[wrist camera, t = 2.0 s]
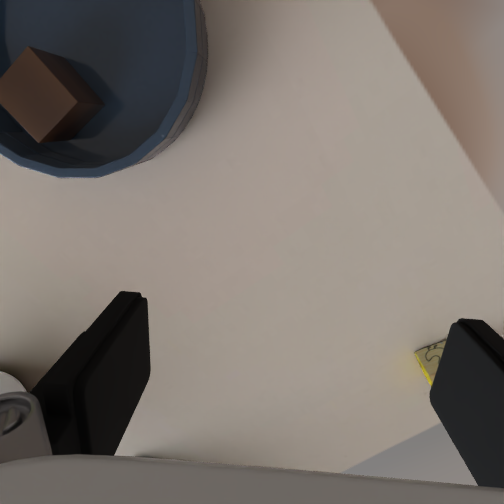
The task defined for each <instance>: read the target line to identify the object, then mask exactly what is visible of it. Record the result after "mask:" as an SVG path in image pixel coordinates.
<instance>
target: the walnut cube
mask: <svg viewBox="0 0 504 504" xmlns="http://www.w3.org/2000/svg"><path fill="white" fill-rule="evenodd" d="M0 104H1V105H2V106H3V107H4V108H5V109H6V110H7V111H8V112H9V113H10V114H11V115H12V116H13V117H14V118H15V119H16V120H17V121H18V122H19V123H20V124H21V125H22V126H23V128H24V129H25V130H26V131H27V132H28V133H29V134H30V135H31V136H32V137H33V138H34V139H35V140H36V141H37V142H38V143H46V142H56V141H67V140H71V139H72V138H73V137H74V136H75V135H76V134H77V133H78V132H79V131H80V130H81V129H82V128H83V127H84V126H85V125H86V124H87V123H88V122H89V121H90V120H91V119H92V118H93V117H94V116H95V115H96V114H97V113H98V112H99V111H100V110H101V109H102V108H103V107H104V106H105V104H104V103H103V101H102V100H101V99H100V98H99V97H98V96H97V95H96V93H95V92H94V91H93V90H92V89H91V88H90V86H89V85H88V84H87V83H86V82H85V81H84V80H83V78H82V77H81V76H80V75H79V74H78V73H77V72H76V70H75V69H74V68H73V67H72V66H71V65H70V63H69V62H68V61H67V60H66V59H65V58H64V57H61V56H58V55H55V54H52V53H49V52H46V51H43V50H39V49H36V48H33V47H30V46H27V47H26V49H25V50H24V51H23V52H22V53H21V55H20V56H19V57H18V58H17V59H16V60H15V62H14V63H13V64H12V65H11V66H10V67H9V69H8V70H7V71H6V72H5V73H4V75H3V76H2V77H1V78H0Z"/></svg>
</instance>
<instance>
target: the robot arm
mask: <svg viewBox="0 0 504 504" xmlns="http://www.w3.org/2000/svg"><path fill="white" fill-rule="evenodd" d="M150 370H151V367H150V346H149V324H148V303H147V299H146V298H143V297H142V296H141V293H139V292H127V291H121V292H119V293H118V295H117V296H116V297H115V298H114V299H113V300H112V302H111V303H110V304H109V305H108V306H107V307H106V308H105V310H104V311H103V312H102V313H101V314H100V315H99V317H98V318H97V319H96V320H95V321H94V322H93V323H92V325H91V326H90V327H89V328H88V329H87V330H86V331H85V332H83V333H82V334H80V335H79V337H78V338H77V339H76V340H75V341H74V342H73V343H72V345H71V346H70V347H69V348H68V349H67V350H66V351H65V353H64V354H63V355H62V356H61V357H60V358H59V359H58V361H57V362H56V363H55V364H54V365H53V366H52V367H51V368H50V370H49V371H48V372H47V373H46V374H45V375H44V376H43V378H42V379H41V380H40V381H39V382H38V383H37V384H36V386H35V387H34V388H33V389H32V390H31V391H30V392H29V393H27V392H21V391H18V392H8V393H4V394H0V504H504V339H503V338H502V337H501V336H499V335H498V334H497V333H496V332H495V331H494V330H493V329H492V328H491V327H490V326H489V325H488V324H487V323H485V322H484V321H483V320H476V319H463V318H461V319H459V320H458V321H457V323H453V324H452V325H451V328H450V331H449V334H448V337H447V340H446V343H445V346H444V349H443V353H442V356H441V359H440V362H439V365H438V368H437V371H436V374H435V378H434V381H433V384H432V387H431V390H430V402H431V405H432V406H433V408H434V410H435V412H436V413H437V415H438V417H439V419H440V420H441V422H442V424H443V426H444V427H445V429H446V431H447V432H448V434H449V436H450V438H451V439H452V441H453V443H454V445H455V446H456V448H457V449H458V451H459V453H460V455H461V457H462V458H463V460H464V461H465V464H466V465H467V467H468V469H469V470H470V472H471V474H472V476H473V477H474V479H475V481H476V483H477V484H478V486H473V485H461V484H451V483H441V482H430V481H419V480H408V479H396V478H386V477H374V476H364V475H352V474H341V473H329V472H318V471H306V470H295V469H283V468H271V467H259V466H246V465H234V464H222V463H210V462H197V461H185V460H172V459H158V458H144V457H129V456H114V454H115V452H116V450H117V448H118V446H119V443H120V441H121V439H122V437H123V435H124V433H125V430H126V428H127V426H128V424H129V422H130V419H131V417H132V415H133V413H134V411H135V409H136V406H137V404H138V402H139V400H140V398H141V396H142V393H143V391H144V389H145V387H146V385H147V383H148V380H149V377H150Z"/></svg>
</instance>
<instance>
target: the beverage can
mask: <svg viewBox="0 0 504 504" xmlns="http://www.w3.org/2000/svg"><path fill="white" fill-rule="evenodd" d="M18 391H21V392H27V391H26V389H25V388H24V387H23V385H22V384H21V383H20V381H18V380H17V379H16V378H15V377H13V376H12V375H10V374H8V373H5V372H2V371H0V394H4V393H8V392H18Z"/></svg>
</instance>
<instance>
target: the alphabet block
mask: <svg viewBox="0 0 504 504" xmlns="http://www.w3.org/2000/svg"><path fill="white" fill-rule="evenodd" d="M445 343H446V340H445V341H443V342H440V343H437V344H435V345H432V346H429V347H427V348H424V349H421V350H419V351H416V352H415V356H416V358H417V360H418V362H419V364H420V366H421V368H422V370H423V372H424V375H425V377H426V378H427V380H428V382H429V384H430V385H431V387H432V384H433V381H434V378H435V374H436V371H437V368H438V365H439V362H440V359H441V356H442V353H443V349H444V346H445Z"/></svg>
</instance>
